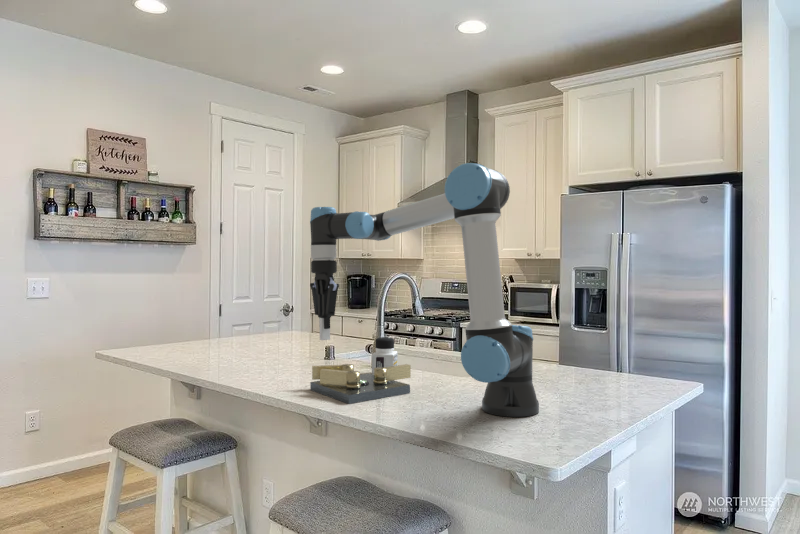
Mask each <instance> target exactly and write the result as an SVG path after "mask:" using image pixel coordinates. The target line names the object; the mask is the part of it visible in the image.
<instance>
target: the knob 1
mask: <svg viewBox="0 0 800 534" xmlns="http://www.w3.org/2000/svg"><path fill="white" fill-rule="evenodd" d="M360 375H361V371H356V370H354V371H341V370H331V369H321V370H320V379H319V381H320V383H324V384H333V385H342V386H346V388H352V389H353V388H360V387H361V384H360Z"/></svg>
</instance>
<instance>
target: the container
mask: <svg viewBox="0 0 800 534" xmlns="http://www.w3.org/2000/svg"><path fill="white" fill-rule="evenodd" d="M397 365H399V363H398V351H397V350H395V339H394V338H393V337H391V336H381V337H376V338H375V352H373V353H371V374H372V375H374V368H378V367H390V366H397Z"/></svg>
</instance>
